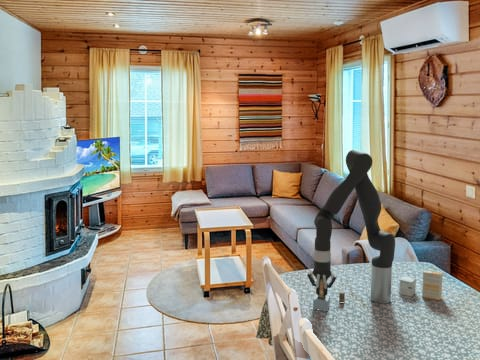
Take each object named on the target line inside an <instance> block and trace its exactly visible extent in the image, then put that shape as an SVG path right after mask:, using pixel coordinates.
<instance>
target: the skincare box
mask: <svg viewBox="0 0 480 360" xmlns="http://www.w3.org/2000/svg"><path fill="white" fill-rule="evenodd" d="M416 285H417V279H416V278H413V277H410V276H402V277H401V278H400V279H399V288H398V289H399V290H398V293H399V294H400V295H404V296H407V297H413V295H414V294H415V293H416V288H417V287H416Z"/></svg>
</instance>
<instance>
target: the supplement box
mask: <svg viewBox="0 0 480 360" xmlns="http://www.w3.org/2000/svg"><path fill="white" fill-rule="evenodd" d="M443 272H444V271H438V270H433V269H425V268H424V270H423V271H422V290H421V291H422V292H421V298H422V299H429V300H435V301H441V299H442V294H443V292H442V291H443Z"/></svg>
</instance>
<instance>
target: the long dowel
mask: <svg viewBox="0 0 480 360" xmlns="http://www.w3.org/2000/svg"><path fill="white" fill-rule="evenodd" d="M319 299H323V300H324V282H323V280H321V279H320V281H319Z"/></svg>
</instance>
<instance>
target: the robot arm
mask: <svg viewBox="0 0 480 360" xmlns="http://www.w3.org/2000/svg"><path fill="white" fill-rule="evenodd" d="M345 165H346V167H347V169H348V172H349V173H348V175H347V176H346V177H345V179H344V180H343V181H342V182H341V183H340V184H339V185H337V186H336V187H335V188H334V189H333V191H332V192H331V193H330V194H329V196H328V198H327V200H326V201H325V204H324V206H323V207H322V208H321V209H320V210H319V211H318V212H317V214H316V216H315V217H314V222H313V223H314V226H315V231H316V233H315V238H314V251H313V270H312V272H308V273H307V278H308V280H309V281H310V283H311V286H312V287H315V295H316V294H317V295H318V296H319V281H320V279H321V280H323V282H324V296H326V295H328V291H329V290H328V289H331V288H332V286H333V285H334V283H335V281H336V280H337V278H338V276H337V275H336V274H335V275H334V274H333V273H332V269H331V267H332V266H331V264H332V262H331V261H332V259H331V258H332V257H331V256H332V253H331V247H332V246H331V239H332V238H331V237H332V233H333V223H332V220H333V218H334V217H335V215H338V214H339V212H340V211H341V210H342V208H343V206H344V205H345V203H346V201H347V200H348V198H349V197H350V195H351V193H352V192H353V191H354V190H355V193H356V197H357V201H358V205H359V207H360V211H361V214H362V216H363V222H364V224H365V230H366V236H367V242H368V245H369V247H371V248H372V249H373V250H376V251H378V252H379V255H378V256H374V257H372V259H371V274H370V275H371V276H370V278H371V279H370V300H371V301H372V302H375V303H376V304H377V303H378V304H388V303H391V300H392V294H391V293H392V279H393V277H392V276H393V275H392V274H393V272H392V271H393V262H394V259H395V252H396V251H395V250H396V238H395V235H393V234H392V233H390V232H386V231H383V230H381V228H380V225H379V217H380V215H381V212H382V202H381V199H380V196H379V193H378V191H377V189H376V187H375V185H374V183H373V182H372V180H371V178H370V177H369V174H368V172H370V170H371V168H372V166H373V158H372V156H371V155H370V154H369V153H367V152H365V151H363V150H360V149H352V150H349V151H348V152H347V154H346V155H345ZM314 277H315V278H314ZM315 279H316V281H315ZM329 279H330V280H331V281H330V282H329V284H328V281H329Z"/></svg>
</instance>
